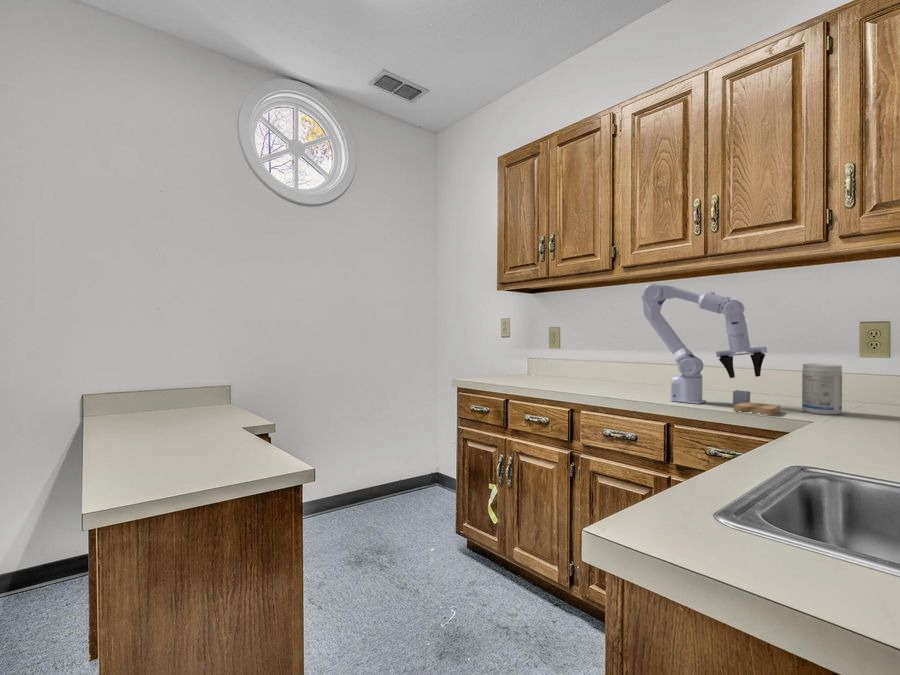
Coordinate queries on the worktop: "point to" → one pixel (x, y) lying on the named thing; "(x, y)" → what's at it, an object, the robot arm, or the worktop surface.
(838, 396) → the supplement tub
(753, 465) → the worktop surface
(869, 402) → the worktop surface
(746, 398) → the block
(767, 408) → the slab
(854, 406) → the worktop surface
